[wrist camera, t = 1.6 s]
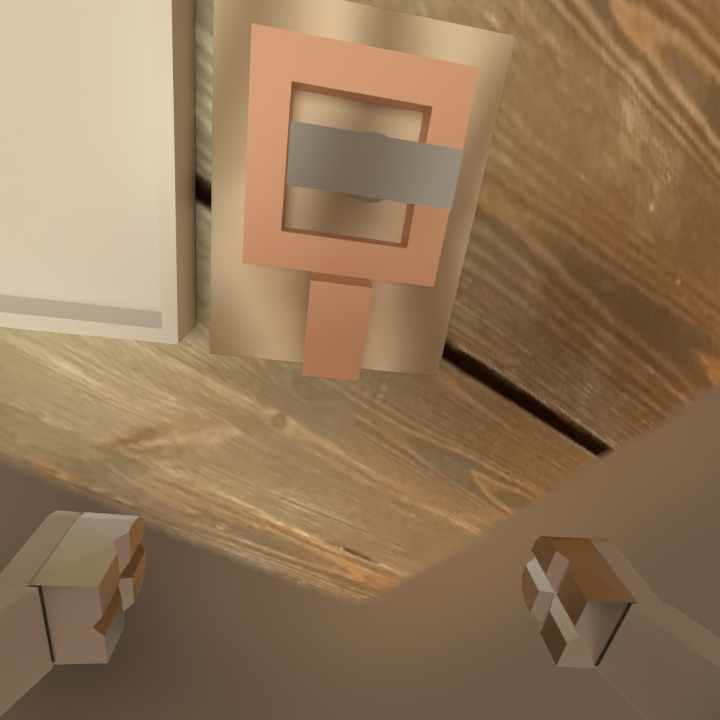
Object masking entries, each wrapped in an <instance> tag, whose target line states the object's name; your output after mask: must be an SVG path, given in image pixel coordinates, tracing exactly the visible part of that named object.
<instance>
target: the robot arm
mask: <svg viewBox="0 0 720 720" xmlns="http://www.w3.org/2000/svg"><path fill="white" fill-rule="evenodd" d="M143 534H144V522H143V518H141V517H140V516H128V515H115V514H100V513H88V512H86V513H79V512H66V511H55V512H54V513H52V514H50V515H49V516H48V517H47V518H46V519H45V520H44V521H43V523H42V524H41V525H40V526H39V527H38V529H37V530H36V531H35V532H34V534H33V535H32V536H31V538H30V539H29V540H28V541H27V542H26V543H25V545H24V546H23V547H22V548H21V550H20V551H19V552H18V553H17V555H16V556H15V557H14V558H13V560H12V561H11V562H10V564H9V565H8V566H7V567H6V568H5V569H4V571H3V572H2V573H1V574H0V716H1V715H2V714H3V713H4V712H5V711H6V710H8V708H10V707H11V706H12V705H13V704H14V703H15V702H16V701H17V700H18V699H19V698H21V697H22V696H23V695H24V694H25V693H26V692H27V691H28V690H29V689H30V688H31V687H32V686H33V685H35V684H36V683H37V682H38V681H39V680H40V679H41V678H42V677H43V676H44V675H45V674H47V673H48V672H49V671H50V670H51V669H52V668H53V665H52V664H90V663H107V662H108V660H109V658H110V656H111V654H112V651H113V649H114V647H115V645H116V642H117V640H118V638H119V635H120V633H121V631H122V629H123V627H124V621H123V611H124V610H125V609H127V608H128V607H129V606H130V605H132V604H133V603H134V601H135V599H136V597H137V594H138V592H139V590H140V587H141V583H142V579H143V576H144V572H145V563H146V551H145V549H144V548H143V547H142V546H141V545H140V543H139V542H140V540H141V538H142V536H143ZM532 552H533V553H534V556H535V558H534V559H533V560H531V561H530V562H529V563H528V564H527V565H525V568H524V572H523V574H522V592H523V596H524V600H525V603H526V605H527V607H528V609H529V611H530V613H531V614H532V615H533V616H535V617H536V618H537V619H538V620H539V621H540V622H542V626H541V631H540V634H541V636H542V638H543V640H544V642H545V644H546V646H547V648H548V651H549V652H550V655H551V657H552V659H553V661H554V663H555V665H556V666H560V667H584V668H597V669H596V670H597V672H598V673H599V674H600V675H601V676H602V677H603V678H604V679H605V680H606V681H607V682H608V683H609V684H610V685H611V686H612V687H613V688H614V689H615V690H616V691H617V692H618V693H619V694H620V695H621V696H622V697H623V698H624V699H625V700H626V701H627V702H628V703H629V704H630V705H631V706H632V707H633V708H634V709H635V711H637V712H638V714H640V716H642V718H643V719H644V720H720V638H718V637H717V636H715V635H714V634H712V633H711V632H709V631H708V630H706V629H705V628H703V627H702V626H700V625H699V624H697V623H696V622H694V621H693V620H691V619H690V618H688V617H687V616H685V615H684V614H682V613H681V612H679V611H678V610H676V609H675V608H673V607H672V606H670V605H663V604H662V603H661V602H660V601H659V599H658V598H657V597H656V596H655V594H654V593H653V592H652V591H651V589H650V588H649V587H648V586H647V584H646V583H645V582H644V581H643V579H642V578H641V577H640V576H639V575H638V573H637V572H636V571H635V570H634V568H633V567H632V566H631V565H630V563H629V562H628V561H627V560H626V558H625V557H624V556H623V555H622V553H621V552H620V551H619V550H618V548H617V547H616V546H615V545H614V544H613V543H612V542H610V541H609V540H607V539H604V538H573V537H546V536H540V537H539V538H538V539H537V540H536V541H535V543H534V545H533V548H532Z"/></svg>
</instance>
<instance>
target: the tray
mask: <svg viewBox="0 0 720 720" xmlns="http://www.w3.org/2000/svg"><path fill="white" fill-rule="evenodd" d="M195 324H196V204H195V0H0V327H9V328H19V329H28V330H38V331H48V332H58V333H68V334H78V335H88V336H98V337H108V338H117V339H127V340H137V341H147V342H157V343H167V344H177V345H178V344H179V343H180V342H181V341H182V339H183V338H184V337H185V336H186V335H187V334H188V333H189V331H190V330H191V329H192V328H193V327H194V326H195Z"/></svg>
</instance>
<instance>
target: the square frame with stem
mask: <svg viewBox="0 0 720 720" xmlns="http://www.w3.org/2000/svg"><path fill="white" fill-rule="evenodd" d="M479 69H480V68H478V67H473V66H468V65H463V64H458V63H453V62H448V61H443V60H438V59H432V58H427V57H422V56H417V55H412V54H407V53H402V52H397V51H392V50H387V49H381V48H376V47H371V46H366V45H361V44H356V43H351V42H346V41H341V40H335V39H330V38H325V37H320V36H315V35H310V34H305V33H300V32H295V31H290V30H284V29H279V28H274V27H269V26H264V25H259V24H254V23H252V27H251V53H250V79H249V104H248V130H247V156H246V182H245V208H244V233H243V259H242V263H247V264H255V265H263V266H271V267H278V268H286V269H294V270H302V271H310V272H312V274H311V283H310V293H309V303H308V313H307V323H306V333H305V343H304V353H303V363H302V373H301V376H309V377H320V378H330V379H341V380H351V381H359V375H360V369H361V363H362V356H363V350H364V344H365V337H366V331H367V324H368V318H369V312H370V305H371V299H372V292H373V286H372V284H371V282H370V280H369V279H373V280H381V281H389V282H397V283H405V284H413V285H421V286H429V287H434V283H435V278H436V274H437V269H438V264H439V259H440V255H441V250H442V245H443V240H444V236H445V231H446V226H447V221H448V217H449V212H450V210H449V209H443V208H436V207H429V206H423V205H416V204H409V203H407V209H406V215H405V221H404V226H403V232H402V238H401V243H397V242H390V241H383V240H375V239H368V238H361V237H354V236H347V235H339V234H332V233H325V232H318V231H310V230H303V229H296V228H289V227H284V225H285V211H286V197H287V185H286V183H287V169H288V155H289V142H290V128H291V121H292V116H293V102H294V90H300V91H306V92H311V93H317V94H322V95H328V96H334V97H339V98H345V99H350V100H356V101H361V102H367V103H373V104H378V105H384V106H389V107H395V108H401V109H406V110H412V111H417V112H423V117H422V123H421V129H420V135H419V140H418V142H420V143H426V144H432V145H438V146H444V147H450V148H456V149H462V150H463V145H464V141H465V136H466V131H467V126H468V122H469V117H470V112H471V107H472V103H473V98H474V93H475V88H476V84H477V79H478V74H479Z"/></svg>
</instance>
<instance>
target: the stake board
mask: <svg viewBox="0 0 720 720" xmlns="http://www.w3.org/2000/svg"><path fill="white" fill-rule="evenodd" d="M252 23H254V24H259V25H264V26H269V27H274V28H279V29H284V30H290V31H295V32H300V33H305V34H310V35H315V36H320V37H325V38H330V39H335V40H341V41H346V42H351V43H356V44H361V45H366V46H371V47H376V48H381V49H387V50H392V51H397V52H402V53H407V54H412V55H417V56H422V57H427V58H432V59H438V60H443V61H448V62H453V63H458V64H463V65H468V66H473V67H478V68H480V69H479V74H478V79H477V84H476V88H475V93H474V98H473V103H472V107H471V112H470V117H469V122H468V126H467V131H466V136H465V141H464V145H463V150H462V149H456V148H450V147H444V146H438V145H432V144H426V143H420V142H418V140H419V135H420V129H421V123H422V117H423V112H417V111H412V110H406V109H401V108H395V107H389V106H384V105H378V104H373V103H367V102H361V101H356V100H350V99H345V98H339V97H334V96H328V95H322V94H317V93H311V92H306V91H300V90H294V102H293V116H292V121H291V128H290V142H289V155H288V169H287V183H286V185H287V197H286V211H285V225H284V227H289V228H296V229H303V230H310V231H318V232H325V233H332V234H339V235H347V236H354V237H361V238H368V239H375V240H383V241H390V242H397V243H401V238H402V232H403V226H404V221H405V215H406V209H407V203H409V204H416V205H423V206H429V207H436V208H443V209H449V210H450V212H449V217H448V221H447V226H446V231H445V236H444V240H443V245H442V250H441V255H440V259H439V264H438V269H437V274H436V278H435V283H434V287H429V286H421V285H413V284H405V283H397V282H389V281H381V280H373V279H369V280H370V282H371V284H372V286H373V292H372V299H371V305H370V312H369V318H368V324H367V331H366V337H365V344H364V350H363V356H362V363H361V369H371V370H381V371H391V372H401V373H411V374H421V375H431V376H437V375H438V371H439V366H440V362H441V358H442V353H443V349H444V345H445V340H446V336H447V332H448V327H449V323H450V319H451V315H452V310H453V306H454V302H455V297H456V293H457V289H458V284H459V280H460V276H461V271H462V267H463V263H464V259H465V254H466V250H467V246H468V241H469V237H470V233H471V228H472V224H473V220H474V215H475V211H476V207H477V203H478V198H479V194H480V190H481V185H482V181H483V177H484V172H485V168H486V164H487V159H488V155H489V151H490V147H491V142H492V138H493V134H494V129H495V125H496V121H497V116H498V112H499V108H500V103H501V99H502V95H503V91H504V86H505V82H506V78H507V73H508V69H509V65H510V60H511V56H512V52H513V47H514V43H515V39H516V36H512V35H508V34H503V33H498V32H493V31H488V30H484V29H479V28H474V27H469V26H464V25H459V24H455V23H450V22H445V21H440V20H435V19H431V18H426V17H421V16H416V15H411V14H407V13H402V12H397V11H392V10H387V9H383V8H378V7H373V6H368V5H363V4H359V3H354V2H349V1H344V0H214V28H213V117H212V206H211V295H210V354H220V355H230V356H240V357H250V358H260V359H270V360H280V361H290V362H300V363H303V353H304V343H305V333H306V323H307V313H308V303H309V293H310V283H311V274H312V272H310V271H302V270H294V269H286V268H278V267H271V266H263V265H255V264H247V263H242V259H243V233H244V208H245V182H246V156H247V130H248V104H249V79H250V53H251V27H252Z"/></svg>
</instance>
